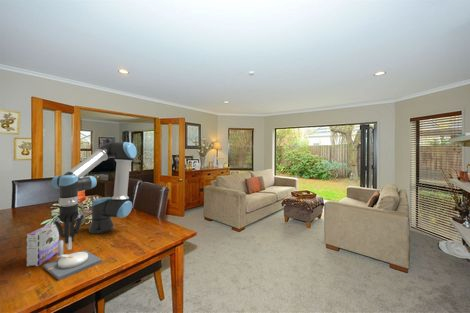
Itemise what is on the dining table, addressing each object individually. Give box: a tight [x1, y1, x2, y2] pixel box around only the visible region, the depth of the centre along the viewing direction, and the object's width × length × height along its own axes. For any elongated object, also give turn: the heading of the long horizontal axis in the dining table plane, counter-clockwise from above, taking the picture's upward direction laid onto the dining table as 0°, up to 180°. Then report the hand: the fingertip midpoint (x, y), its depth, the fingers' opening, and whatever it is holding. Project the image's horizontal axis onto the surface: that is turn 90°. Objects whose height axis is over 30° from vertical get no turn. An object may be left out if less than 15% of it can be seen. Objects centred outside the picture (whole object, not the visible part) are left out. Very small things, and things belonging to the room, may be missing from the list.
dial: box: [56, 239, 88, 268], centre depth 104 cm, size 15×12×10 cm
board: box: [43, 249, 103, 281], centre depth 104 cm, size 19×18×2 cm
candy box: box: [25, 223, 60, 267], centre depth 108 cm, size 14×6×16 cm, turn 5°
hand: (69, 248), depth 109 cm, fingers closed
